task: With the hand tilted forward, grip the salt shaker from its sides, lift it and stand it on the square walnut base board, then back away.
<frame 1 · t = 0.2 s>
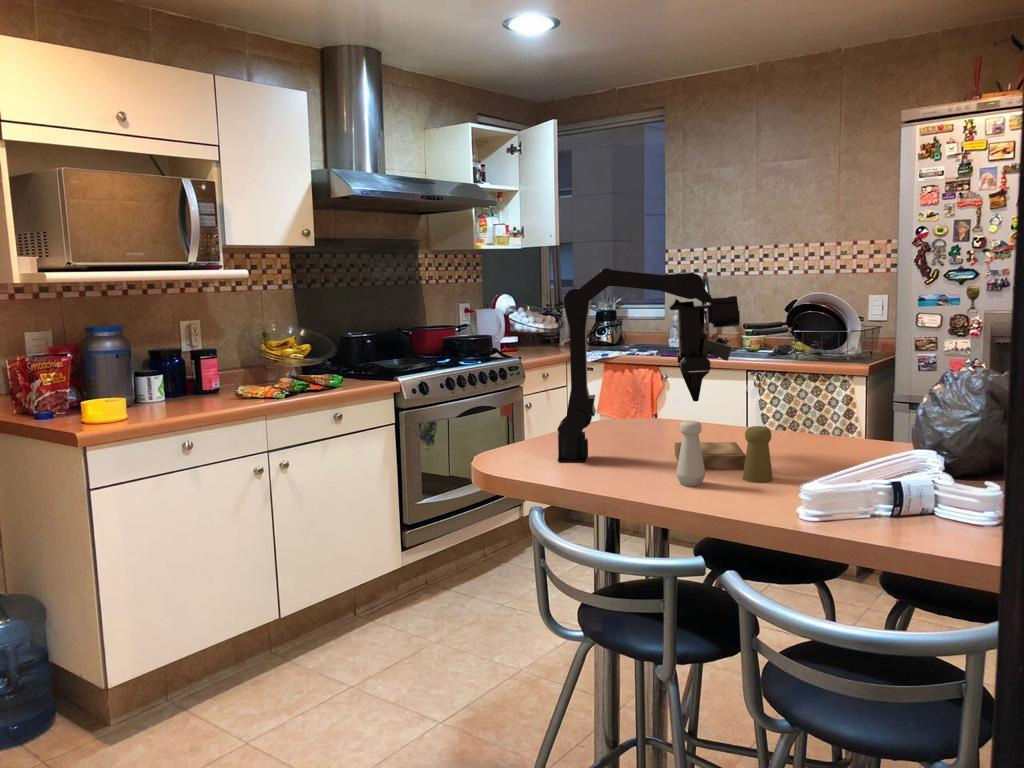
hand: (694, 397, 184), 14 cm above the counter, tool pointing down, fingers open, 9 cm apart
base board: (709, 462, 184), on the counter
pepper shaker: (757, 480, 168), on the counter
salt shaker: (690, 485, 166), on the counter
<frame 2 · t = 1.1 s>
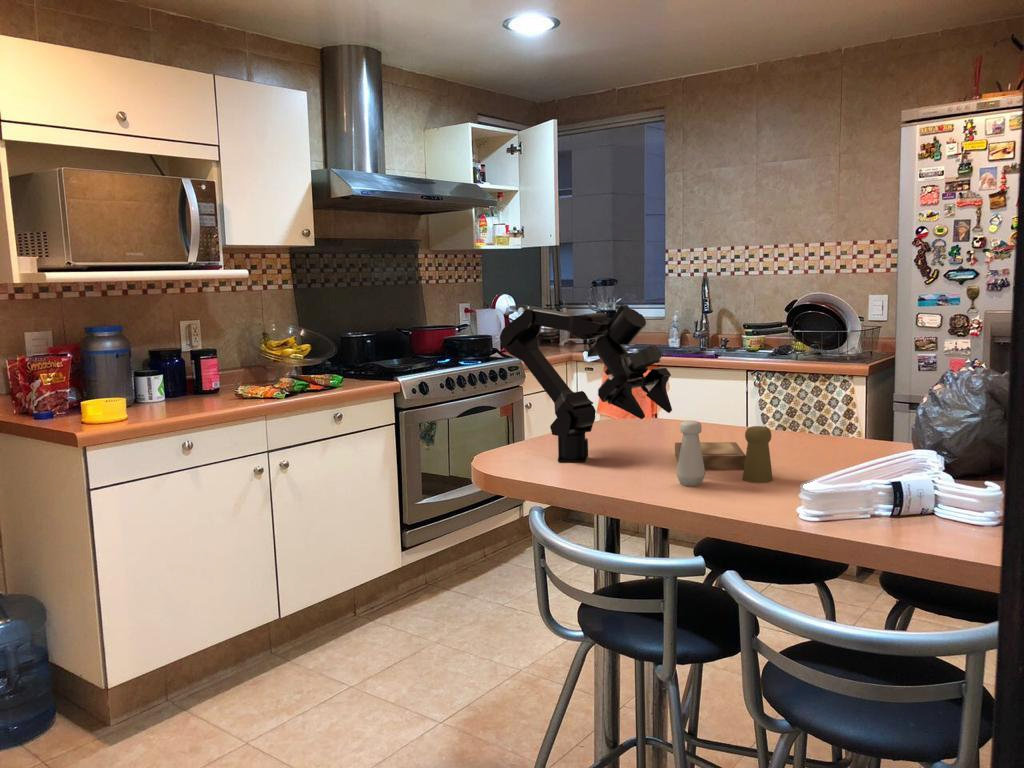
hand: (657, 414, 170), 13 cm above the counter, tool tilted 45°, fingers open, 9 cm apart
nothing on the counter moved.
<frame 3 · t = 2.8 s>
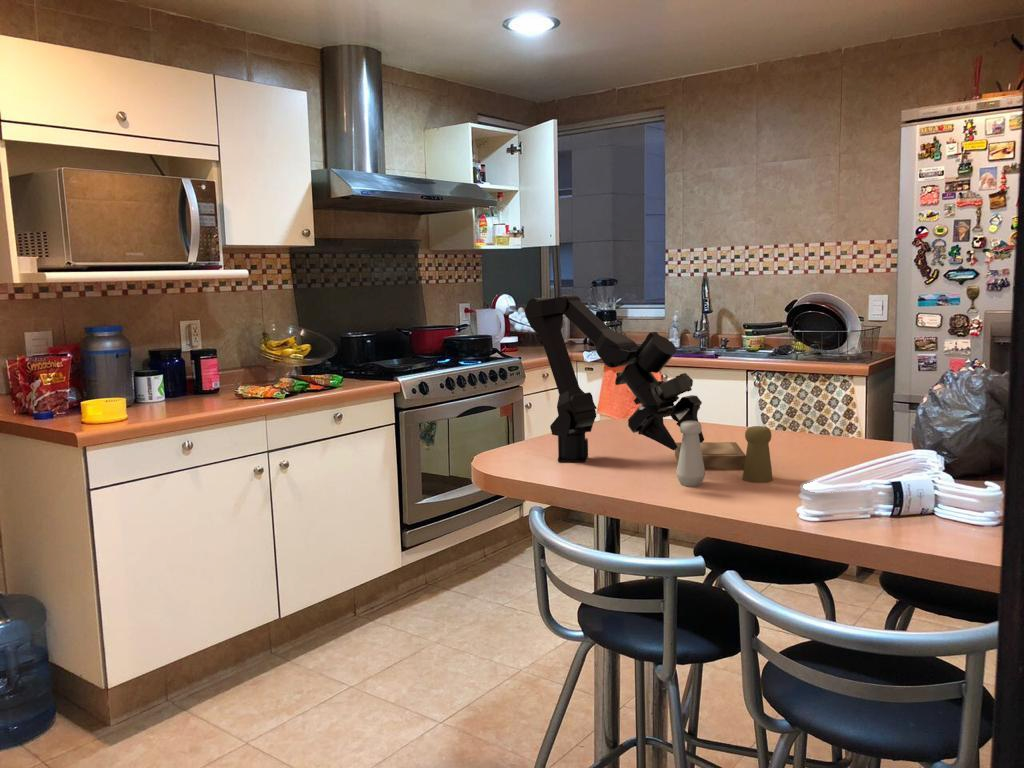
hand: (689, 445, 165), 8 cm above the counter, tool tilted 45°, fingers open, 9 cm apart
nothing on the counter moved.
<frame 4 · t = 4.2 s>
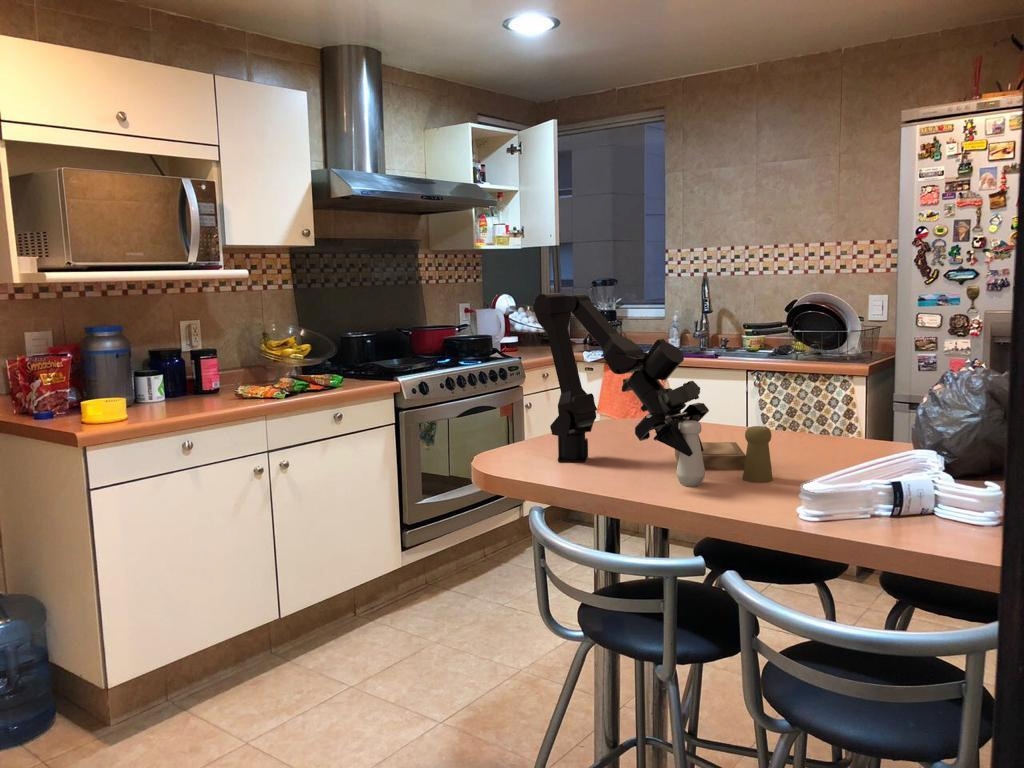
hand: (696, 453, 164), 7 cm above the counter, tool tilted 45°, fingers closed on salt shaker, 3 cm apart
salt shaker: (690, 485, 166), on the counter, touching gripper
everything else where it was.
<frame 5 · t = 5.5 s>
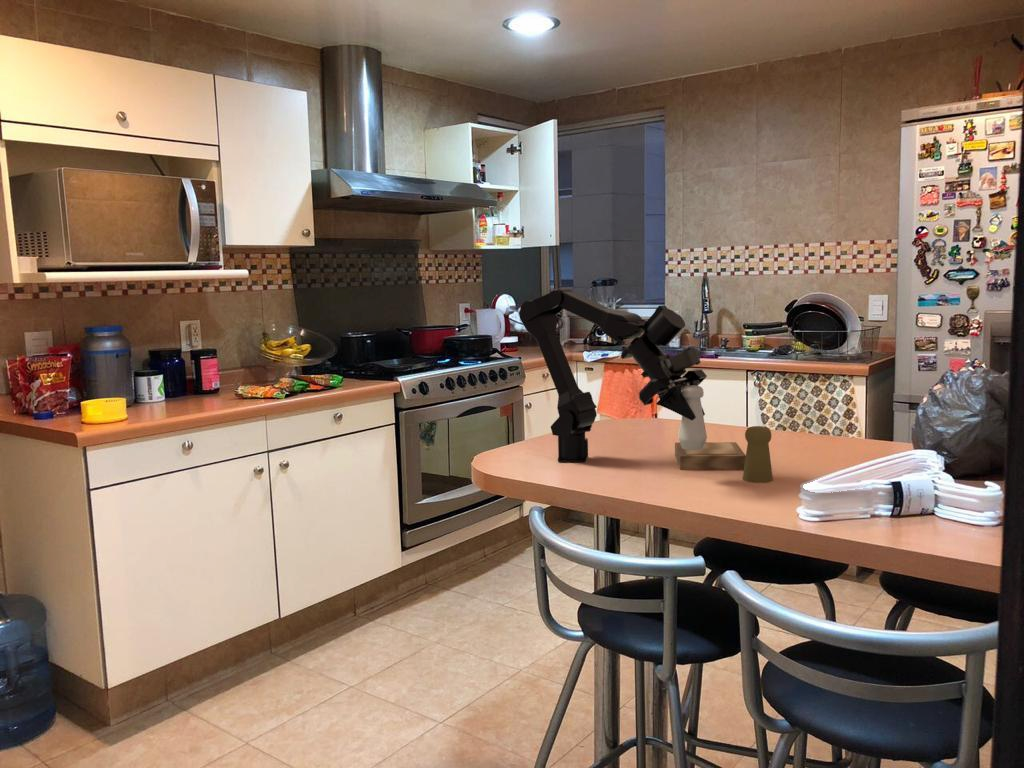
hand: (698, 417, 166), 13 cm above the counter, tool tilted 45°, fingers closed on salt shaker, 3 cm apart
salt shaker: (692, 449, 168), point 6 cm above the counter, touching gripper
everything else where it was.
when the fingers open (11 cm above the counter, at t = 7.2 s): salt shaker stays where it is, resting on base board.
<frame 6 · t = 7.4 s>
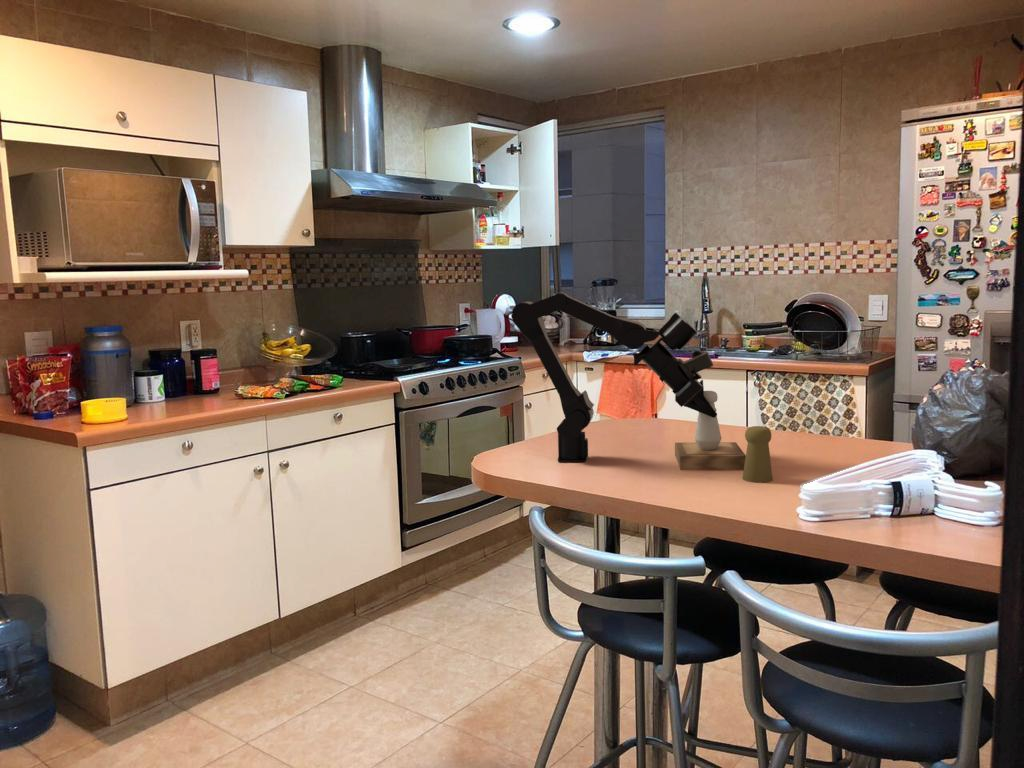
hand: (715, 414, 182), 11 cm above the counter, tool tilted 45°, fingers open, 5 cm apart
salt shaker: (708, 449, 183), point 3 cm above the counter, touching base board
everything else where it was.
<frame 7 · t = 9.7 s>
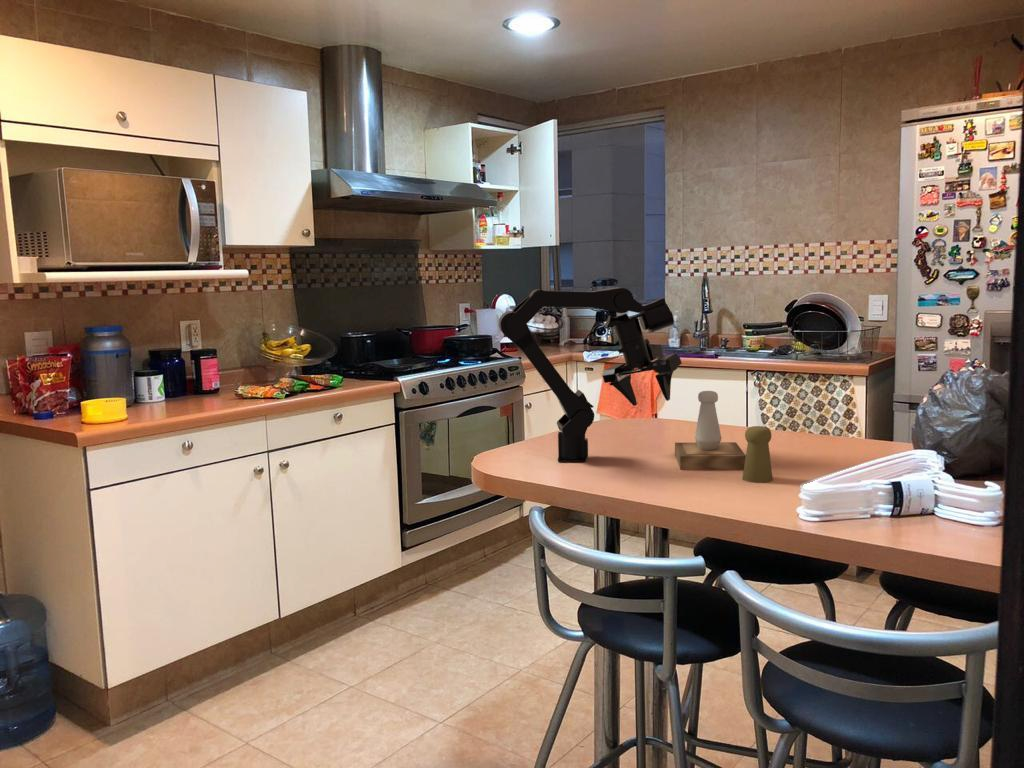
hand: (651, 402, 190), 13 cm above the counter, tool tilted 15°, fingers open, 9 cm apart
nothing on the counter moved.
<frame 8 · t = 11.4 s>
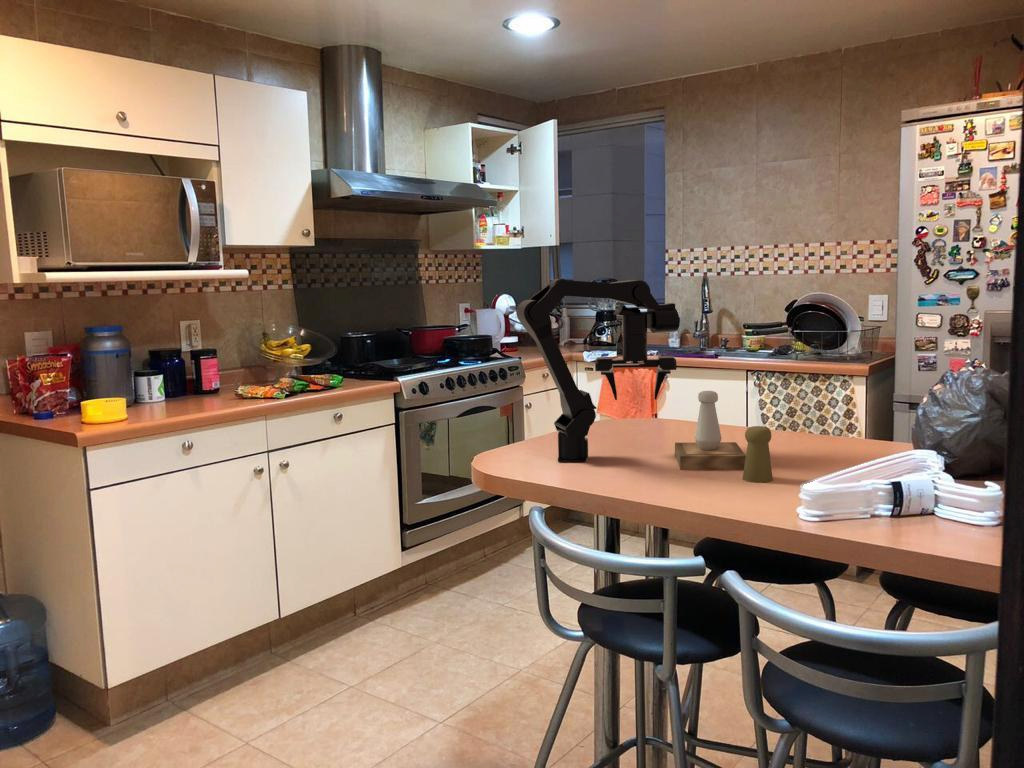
hand: (635, 399, 193), 13 cm above the counter, tool pointing down, fingers open, 9 cm apart
nothing on the counter moved.
at the end: salt shaker inside the target area on the base board (0.2 cm from its centre), point 3.0 cm above the base board's base; salt shaker tilted 0°; the gripper is holding nothing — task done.
